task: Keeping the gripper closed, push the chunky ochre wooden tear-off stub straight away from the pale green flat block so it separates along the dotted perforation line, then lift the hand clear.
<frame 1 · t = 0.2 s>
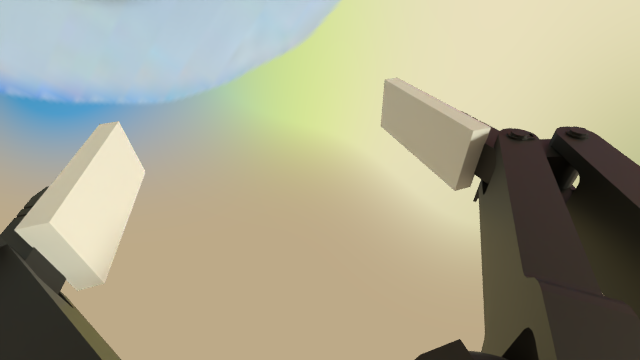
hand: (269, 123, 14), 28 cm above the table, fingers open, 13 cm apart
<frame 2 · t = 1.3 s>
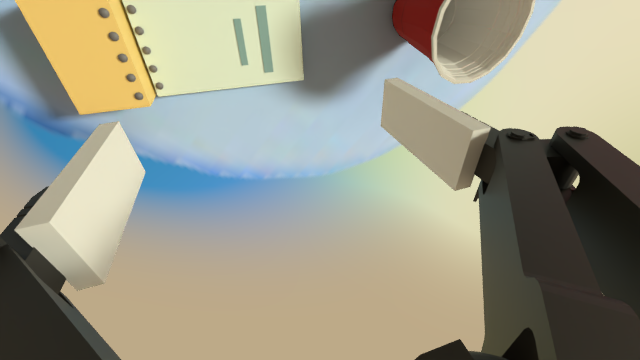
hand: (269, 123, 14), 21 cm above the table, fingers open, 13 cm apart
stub: (99, 55, 25), point 2 cm above the table, slide at 0.0 cm
pale green flat block: (225, 41, 30), on the table
plastic cup: (412, 13, 34), on the table
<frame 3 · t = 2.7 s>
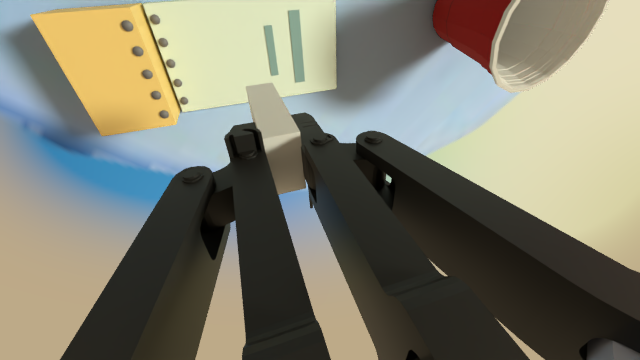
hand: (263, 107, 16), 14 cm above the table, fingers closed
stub: (121, 71, 23), point 2 cm above the table, slide at 0.0 cm
pale green flat block: (254, 50, 27), on the table
plastic cup: (454, 12, 31), on the table
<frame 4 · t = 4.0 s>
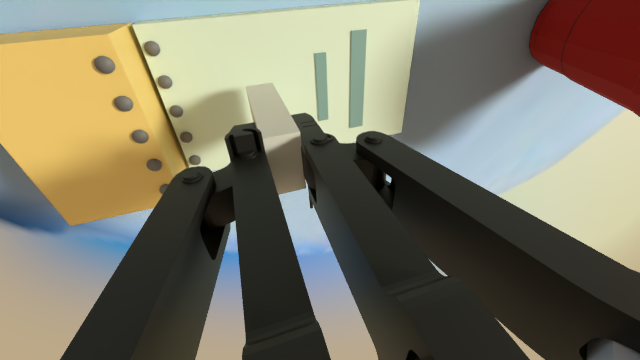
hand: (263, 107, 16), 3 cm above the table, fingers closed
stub: (99, 128, 15), point 2 cm above the table, slide at 0.0 cm
pale green flat block: (294, 85, 19), on the table
plastic cup: (557, 27, 23), on the table
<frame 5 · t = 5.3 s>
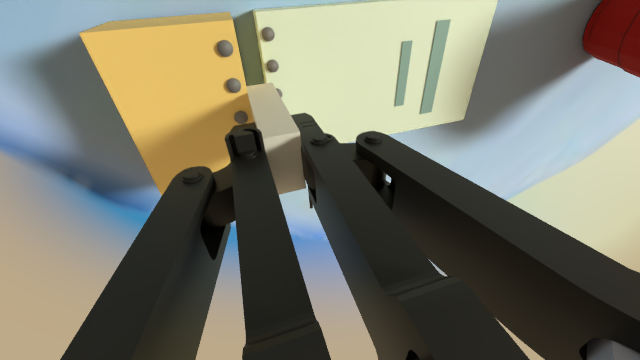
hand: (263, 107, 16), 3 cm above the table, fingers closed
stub: (196, 110, 16), point 2 cm above the table, slide at 1.0 cm, touching gripper
pale green flat block: (373, 72, 20), on the table
plastic cup: (608, 21, 24), on the table
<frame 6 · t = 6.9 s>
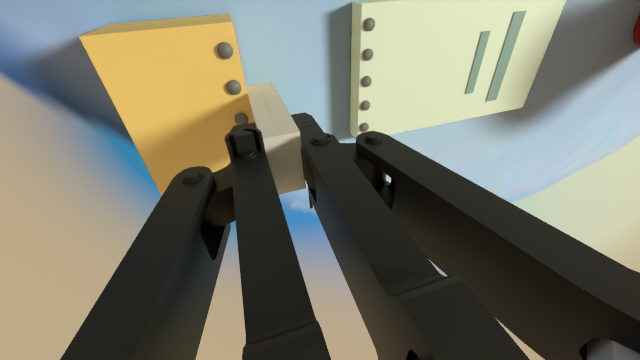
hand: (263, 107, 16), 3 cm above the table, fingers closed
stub: (196, 112, 16), point 2 cm above the table, slide at 7.2 cm, touching gripper
pale green flat block: (446, 62, 21), on the table
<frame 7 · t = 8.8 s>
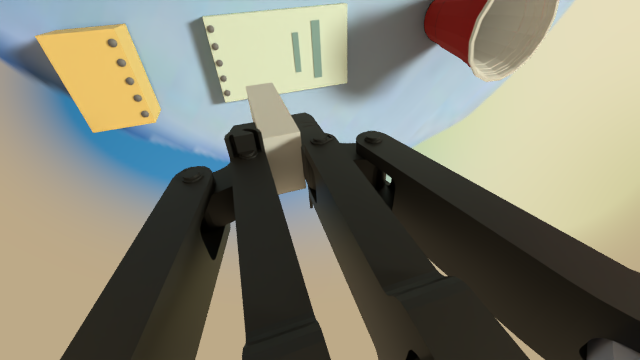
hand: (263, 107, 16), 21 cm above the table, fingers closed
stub: (108, 79, 28), point 2 cm above the table, slide at 7.2 cm
pale green flat block: (282, 52, 34), on the table
plastic cup: (441, 19, 38), on the table
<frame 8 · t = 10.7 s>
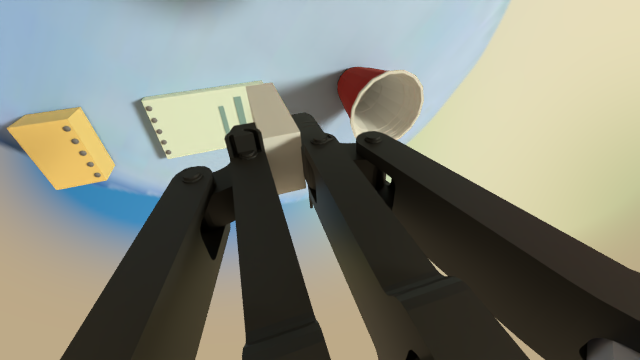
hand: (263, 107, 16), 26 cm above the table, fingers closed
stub: (67, 149, 36), point 2 cm above the table, slide at 7.2 cm
pale green flat block: (214, 118, 42), on the table
plastic cup: (353, 85, 45), on the table
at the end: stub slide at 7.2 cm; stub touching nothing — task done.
